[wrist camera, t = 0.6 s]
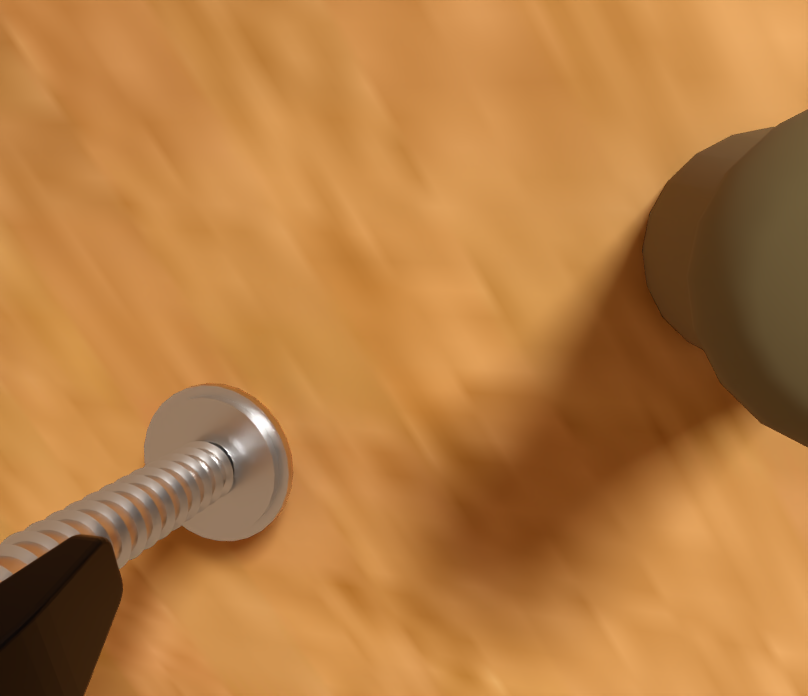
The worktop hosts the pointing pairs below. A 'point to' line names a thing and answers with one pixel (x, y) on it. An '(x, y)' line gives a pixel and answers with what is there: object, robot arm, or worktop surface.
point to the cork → (741, 267)
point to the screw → (180, 481)
